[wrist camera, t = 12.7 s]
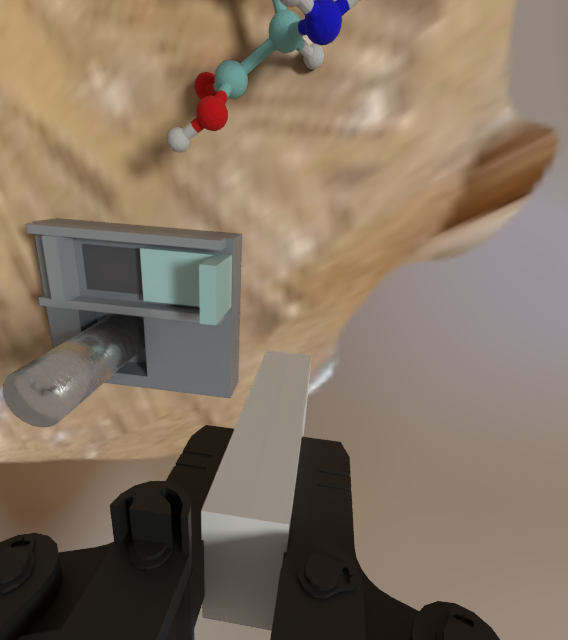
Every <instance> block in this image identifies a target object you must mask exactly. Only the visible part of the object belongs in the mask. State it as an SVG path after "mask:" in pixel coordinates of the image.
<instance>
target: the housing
mask: <svg viewBox="0 0 568 640" xmlns="http://www.w3.org/2000/svg"><path fill="white" fill-rule="evenodd" d="M26 228H27V233H30V234H35V240H36V247H37V253H38V259H39V265H40V271H41V277H42V283H43V289H44V295H43V296H41V297H38V299H39V305H40V306H46V308H47V314H48V320H49V326H50V332H51V338H52V344H53V349H54V348H55V347H57V346H59V345H60V344H62V343H64V342H66V341H67V340H69V339H71V338H72V337H74V336H76V335H77V334H79V333H81V332H82V331H84V330H86V329H87V328H89V327H91V326H93V325H94V324H96V323H98V322H99V321H101V320H103V319H104V318H106V317H108V316H109V315H111V314H113V313H114V314H123V315H133V316H139V317H140V318H141V319H142V320H143V322H144V332H145V347H144V348H143V349H142V350H141V351H140V352H138V353H137V354H136V355H135V356H134V357H133V358H132V359H130V360H129V361H128V362H127V363H126V364H125V365H124V366H122V367H121V368H120V369H119V370H118V371H117V372H116V373H114V374H113V375H112V376H111V377H110V378H109V379H108V380H106V381H105V382H104V383H111V384H119V385H127V386H135V387H144V388H152V389H160V390H168V391H176V392H184V393H192V394H200V395H208V396H216V397H224V398H231V396H232V394H233V392H234V389H235V387H236V385H237V383H238V363H239V325H240V287H241V249H242V234H236V233H224V232H212V231H200V230H189V229H177V228H165V227H153V226H141V225H129V224H117V223H106V222H94V221H82V220H70V219H58V218H57V219H49V220H41V221H33V223H29V224H26ZM142 247H152V248H163V249H174V250H185V251H196V252H208V253H219V254H230V255H232V293H231V308H230V309H229V310H228V312H227V313H226V314H225V315H224V316H223V318H222V319H221V320H220V321H219V322H218V324H217V325H207V324H200V307H198V306H188V305H179V304H169V303H159V302H150V301H143V286H142V272H141V257H140V248H142Z"/></svg>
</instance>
